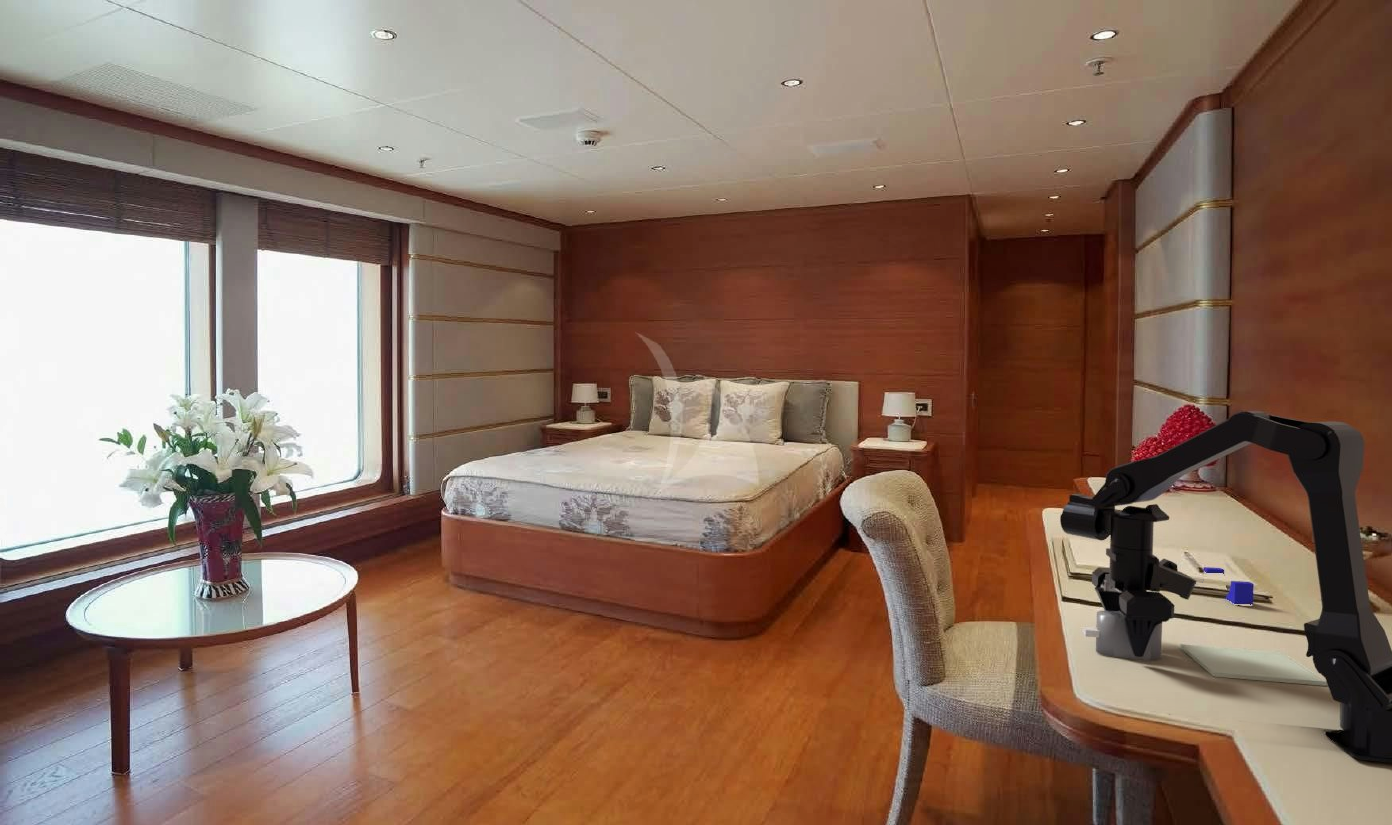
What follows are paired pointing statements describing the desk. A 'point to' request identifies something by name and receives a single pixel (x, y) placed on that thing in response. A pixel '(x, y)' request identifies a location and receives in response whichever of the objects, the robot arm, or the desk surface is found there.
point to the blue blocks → (1236, 589)
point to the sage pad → (1251, 664)
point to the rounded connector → (1120, 638)
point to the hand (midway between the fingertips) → (1128, 645)
